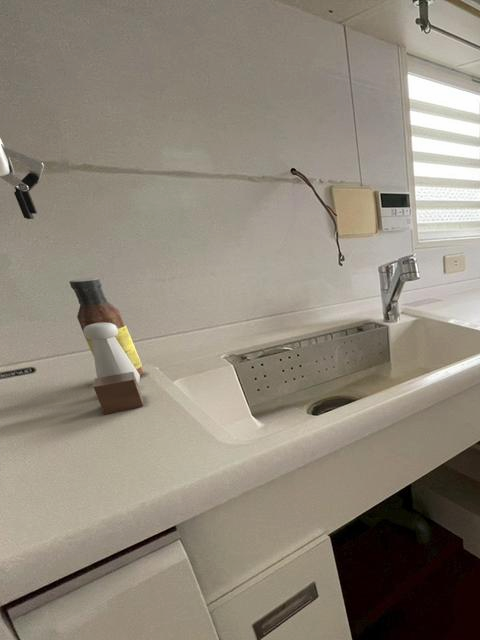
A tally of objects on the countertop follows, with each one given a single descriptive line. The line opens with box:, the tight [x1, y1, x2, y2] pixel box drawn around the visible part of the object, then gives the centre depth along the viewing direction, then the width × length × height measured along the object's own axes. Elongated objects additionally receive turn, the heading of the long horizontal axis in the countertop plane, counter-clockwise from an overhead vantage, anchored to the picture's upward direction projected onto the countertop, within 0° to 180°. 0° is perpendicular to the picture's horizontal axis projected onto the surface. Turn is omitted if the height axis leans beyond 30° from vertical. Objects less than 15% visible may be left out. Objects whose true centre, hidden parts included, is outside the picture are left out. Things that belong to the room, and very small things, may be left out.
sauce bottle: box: [69, 277, 144, 377], centre depth 78 cm, size 6×6×20 cm
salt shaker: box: [83, 323, 141, 384], centre depth 73 cm, size 6×6×13 cm
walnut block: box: [93, 372, 144, 415], centre depth 69 cm, size 5×5×5 cm
